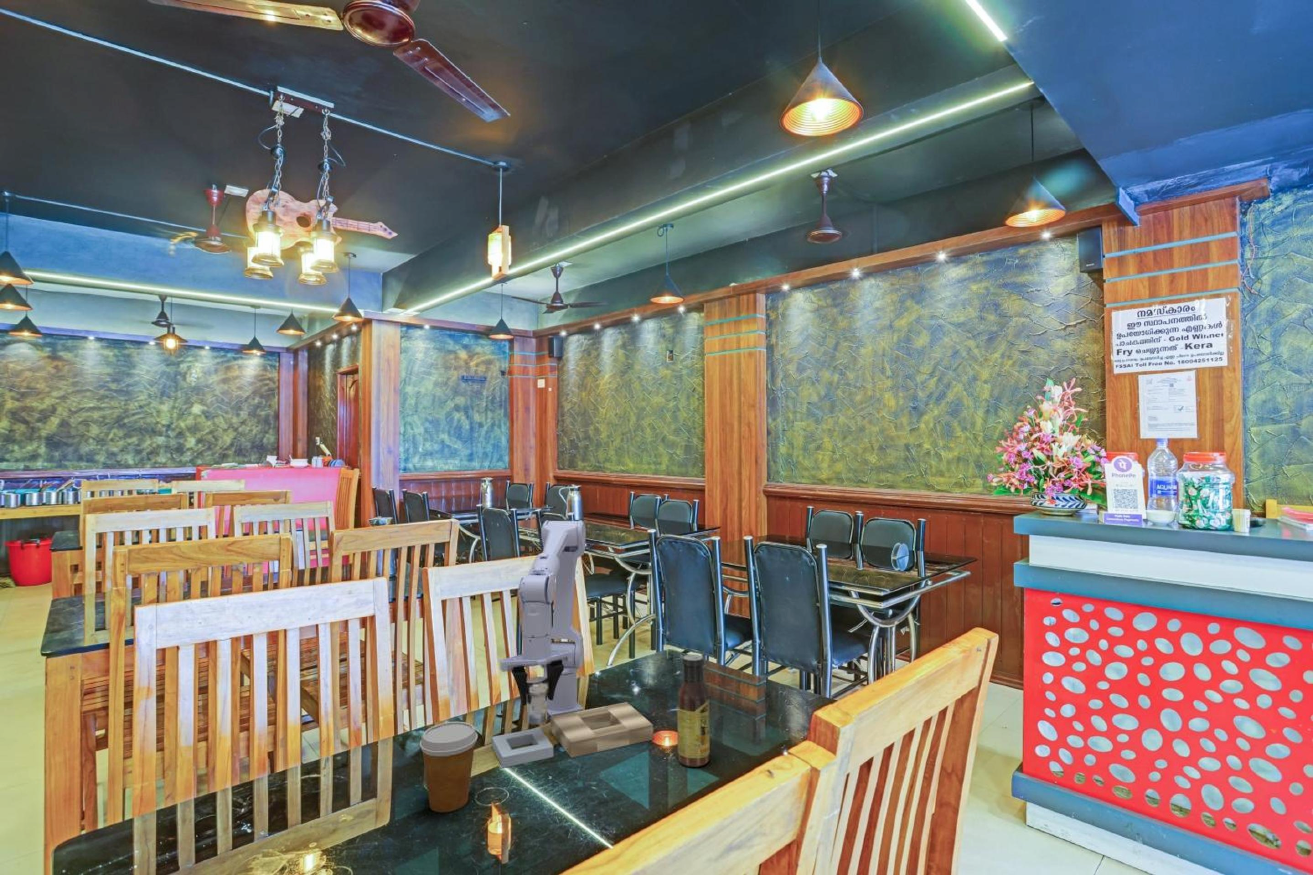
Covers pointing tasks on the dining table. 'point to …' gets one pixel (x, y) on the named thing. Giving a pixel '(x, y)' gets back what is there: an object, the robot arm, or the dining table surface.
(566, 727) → the dock
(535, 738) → the frame
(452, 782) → the disposable coffee cup
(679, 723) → the sauce bottle
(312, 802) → the dining table surface
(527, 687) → the steel pin
